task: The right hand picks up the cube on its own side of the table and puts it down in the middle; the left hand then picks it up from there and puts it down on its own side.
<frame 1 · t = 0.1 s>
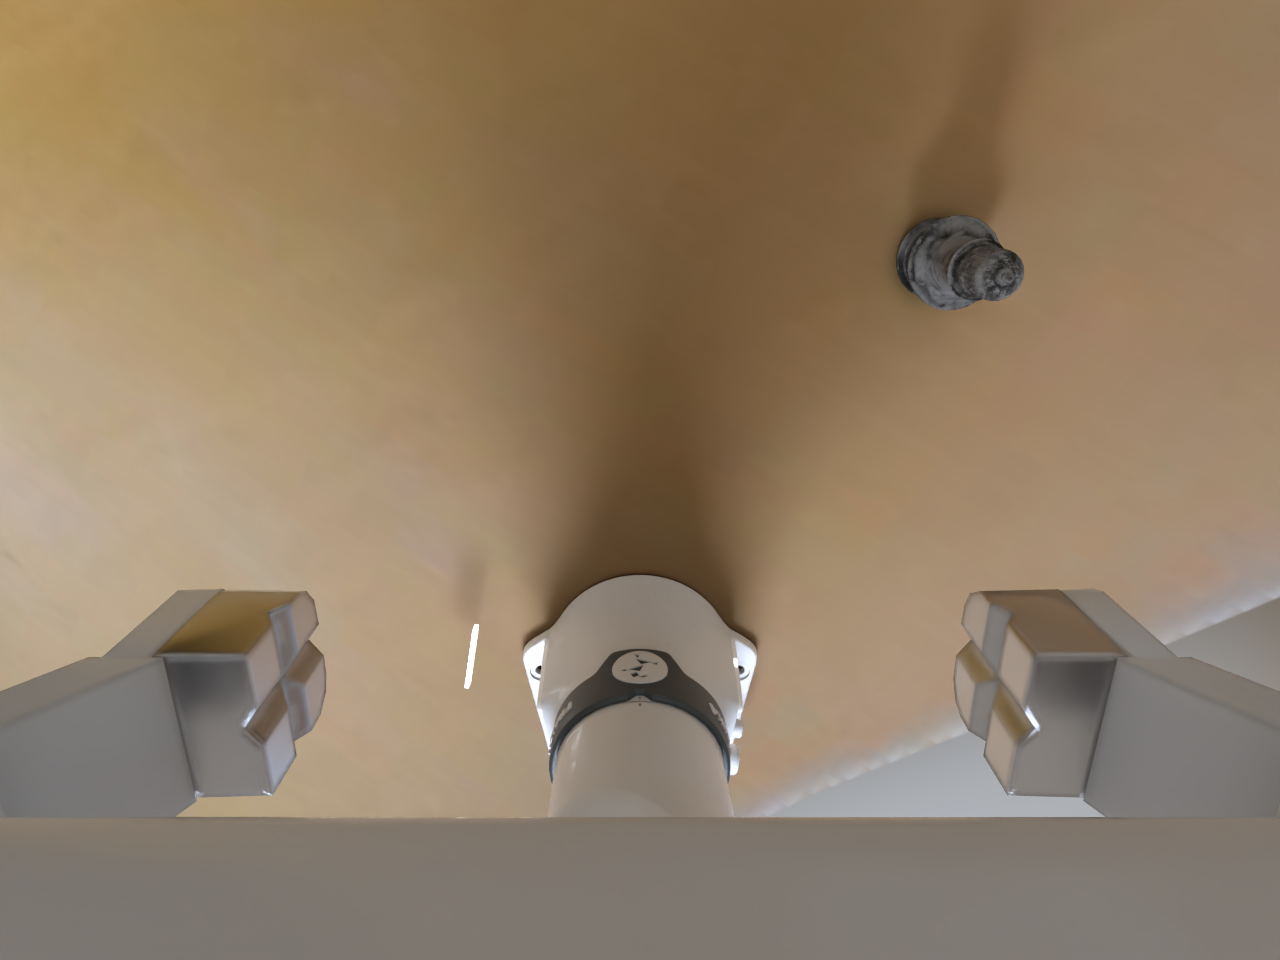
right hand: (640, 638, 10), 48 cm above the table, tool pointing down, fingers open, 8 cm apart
grey chess piece: (934, 258, 55), on the table
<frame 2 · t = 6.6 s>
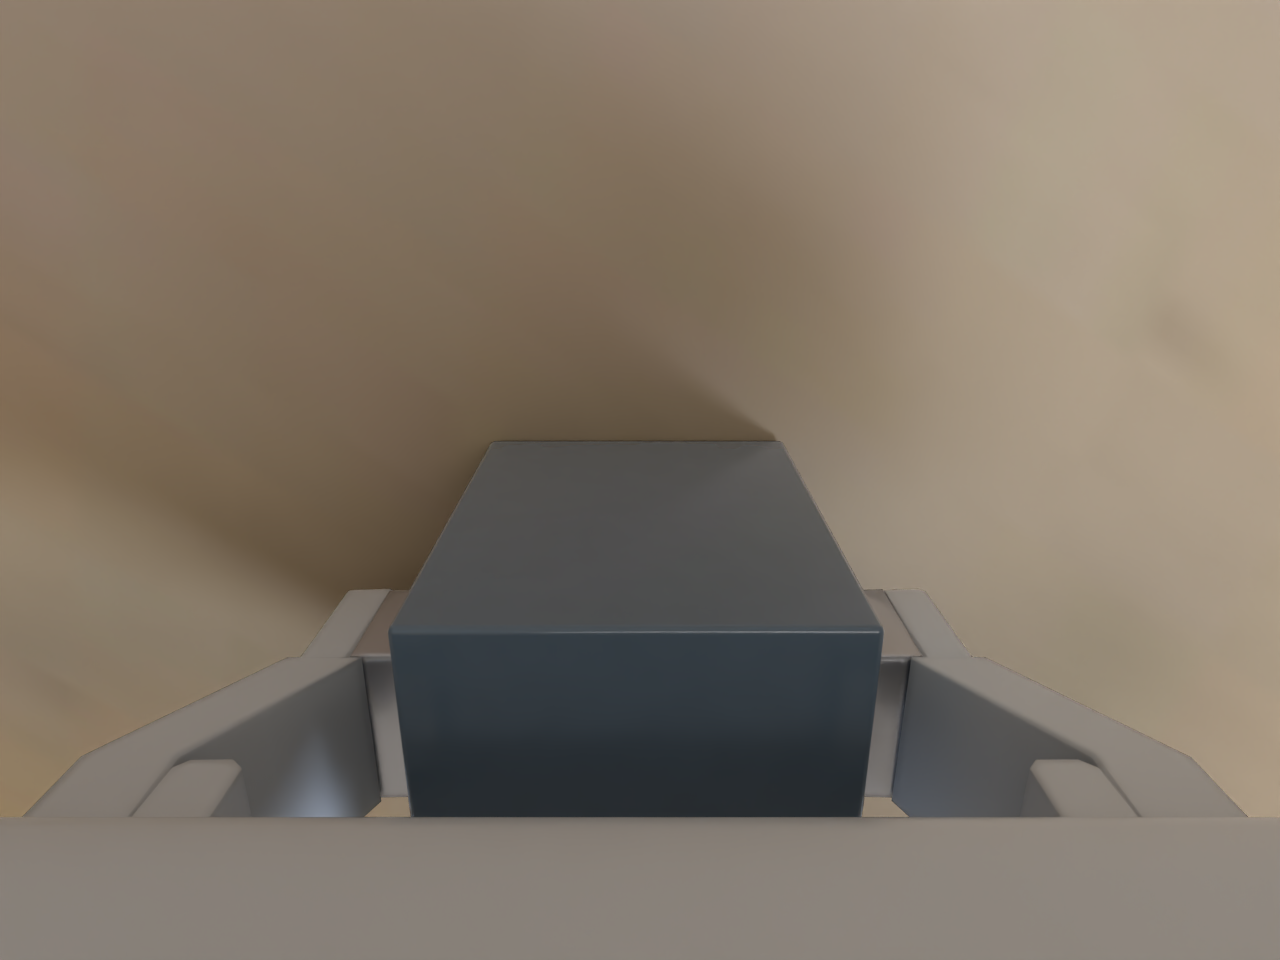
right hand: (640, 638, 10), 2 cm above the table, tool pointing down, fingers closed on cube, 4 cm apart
cube: (637, 574, 12), on the table, touching right hand
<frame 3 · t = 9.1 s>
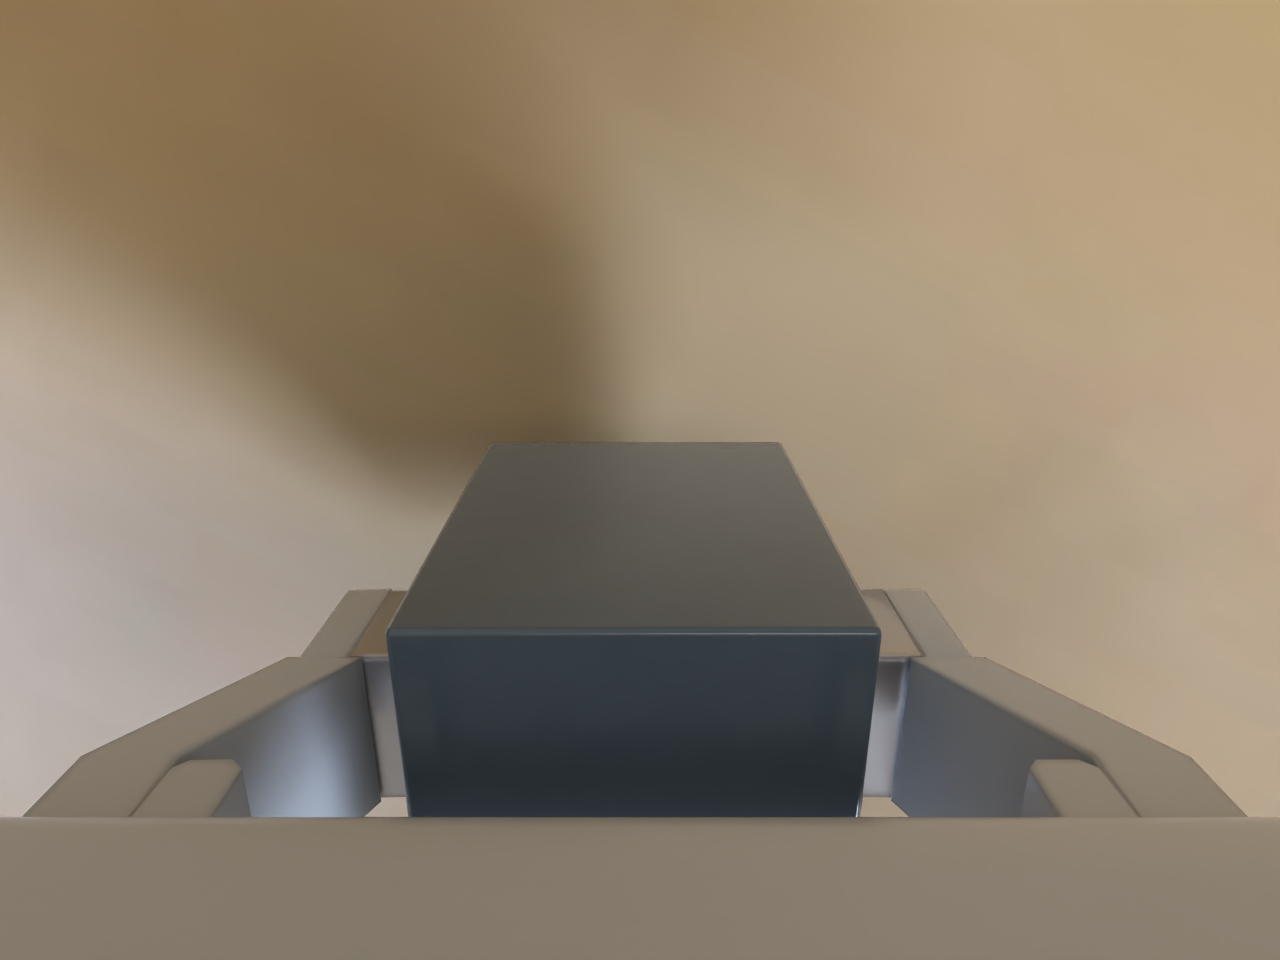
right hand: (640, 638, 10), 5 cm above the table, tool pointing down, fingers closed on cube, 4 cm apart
cube: (635, 575, 12), point 3 cm above the table, touching right hand
when the right hand's fingers open (3 cm above the table, at t = 11.9 s): cube stays where it is, on the table.
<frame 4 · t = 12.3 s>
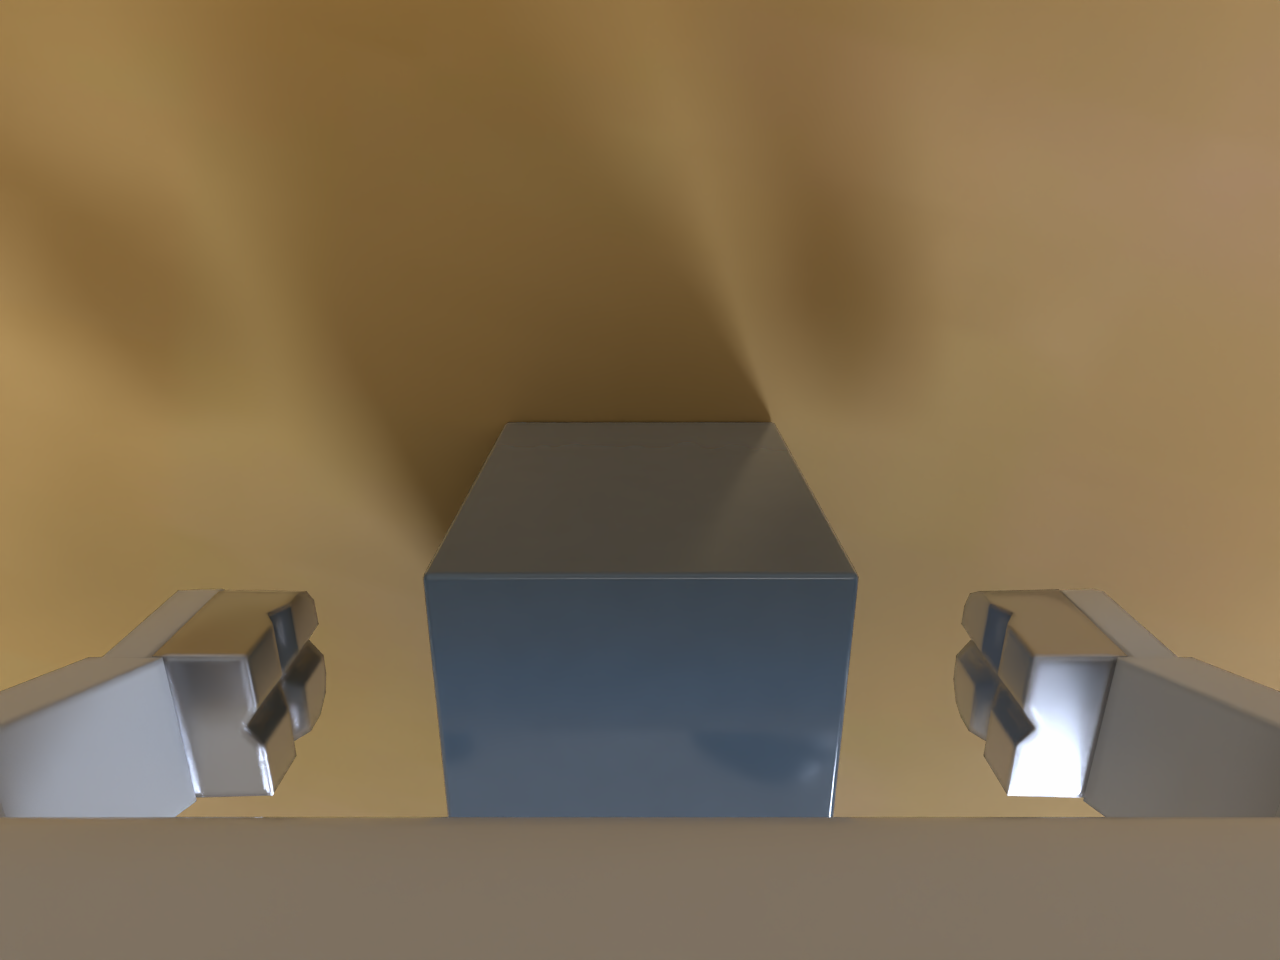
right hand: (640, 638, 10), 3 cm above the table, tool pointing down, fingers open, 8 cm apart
cube: (640, 547, 13), on the table
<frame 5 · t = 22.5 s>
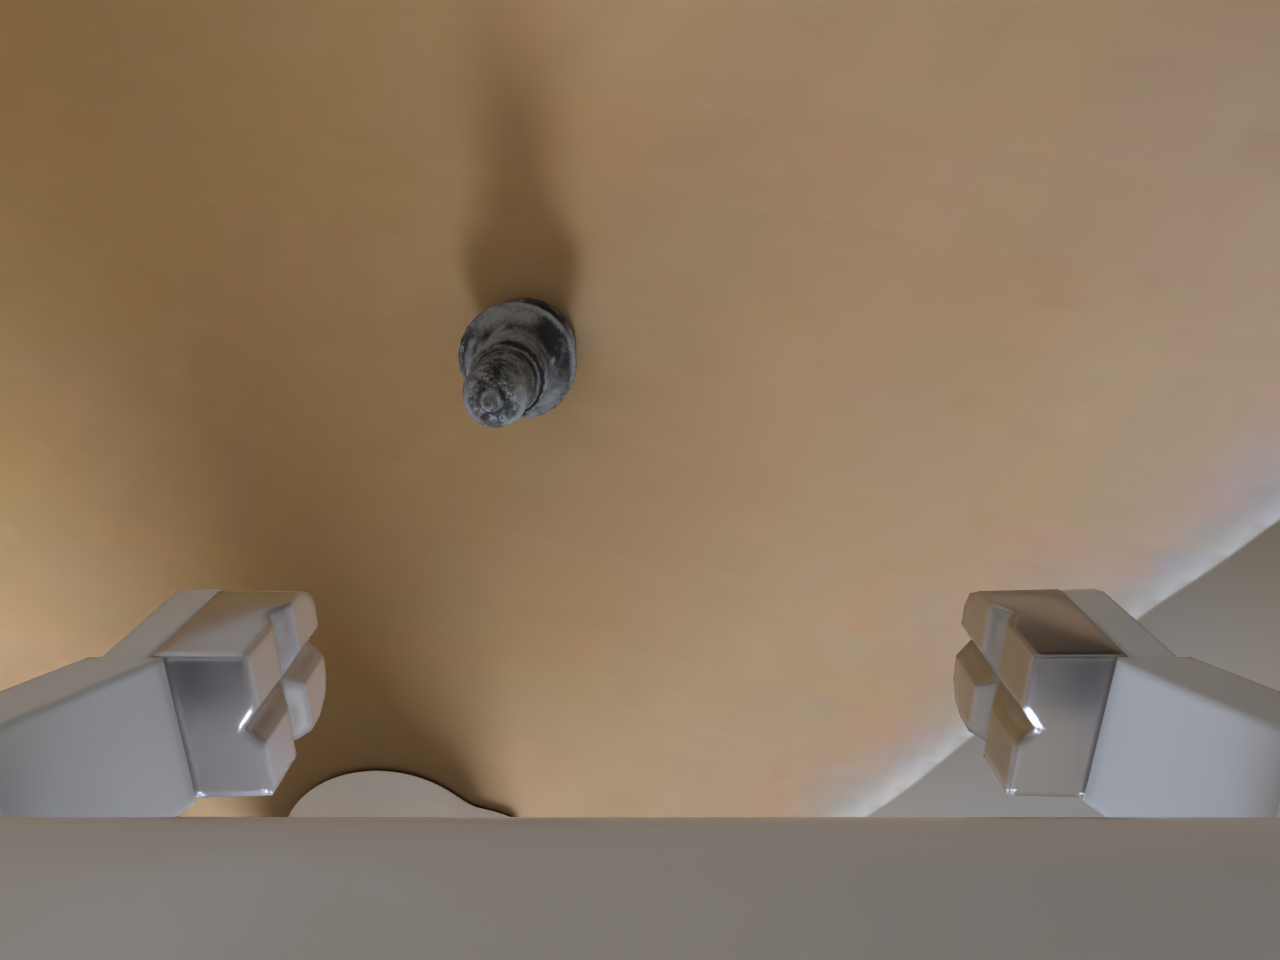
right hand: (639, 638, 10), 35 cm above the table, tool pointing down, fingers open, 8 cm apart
grey chess piece: (527, 347, 44), on the table
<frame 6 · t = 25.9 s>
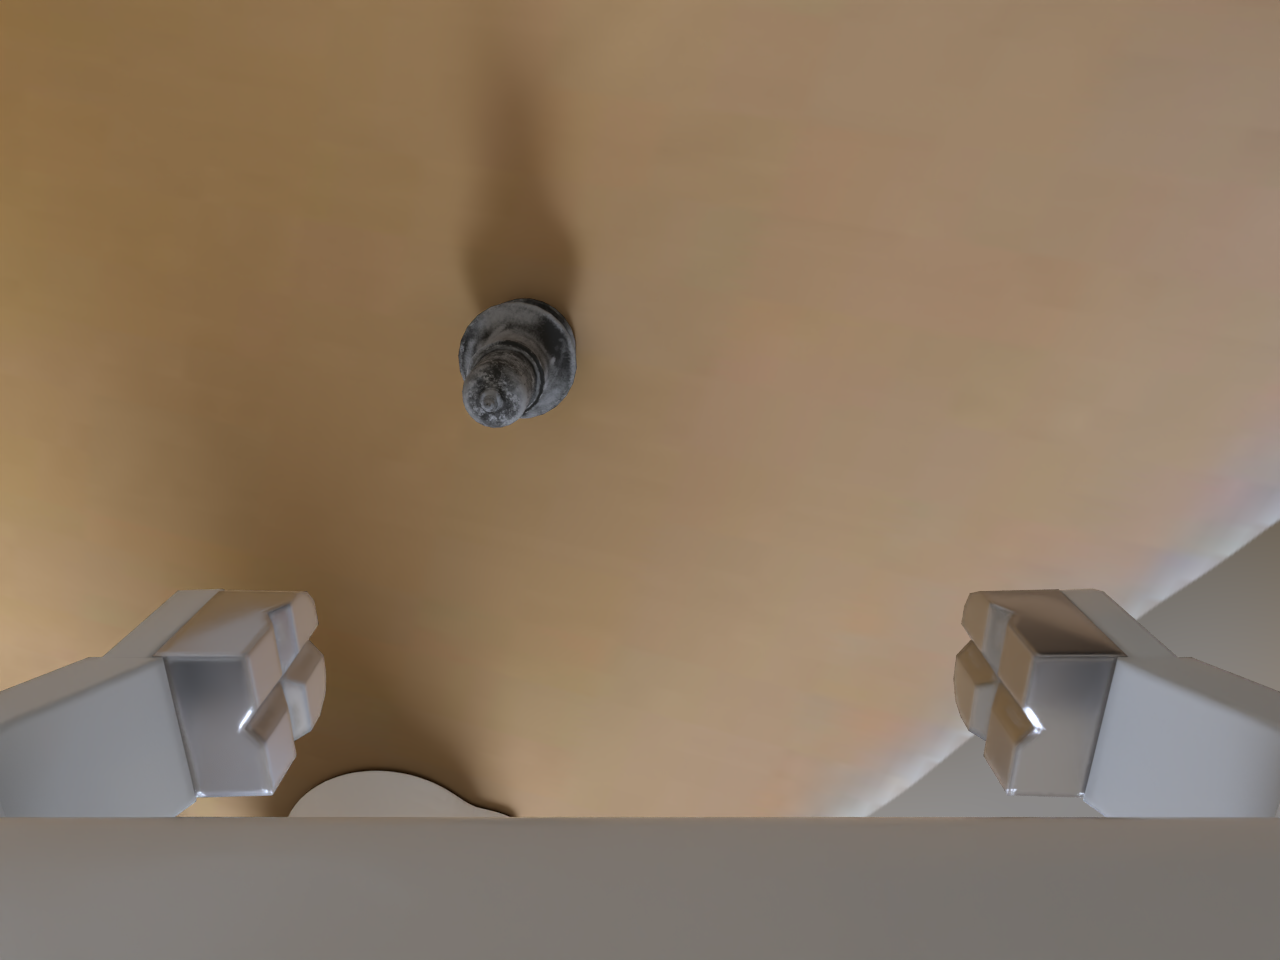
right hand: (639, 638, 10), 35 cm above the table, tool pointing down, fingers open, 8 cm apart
grey chess piece: (527, 347, 44), on the table
when the left hand's fingers open (1 cm above the table, at t = 29.2 s): cube stays where it is, on the table.
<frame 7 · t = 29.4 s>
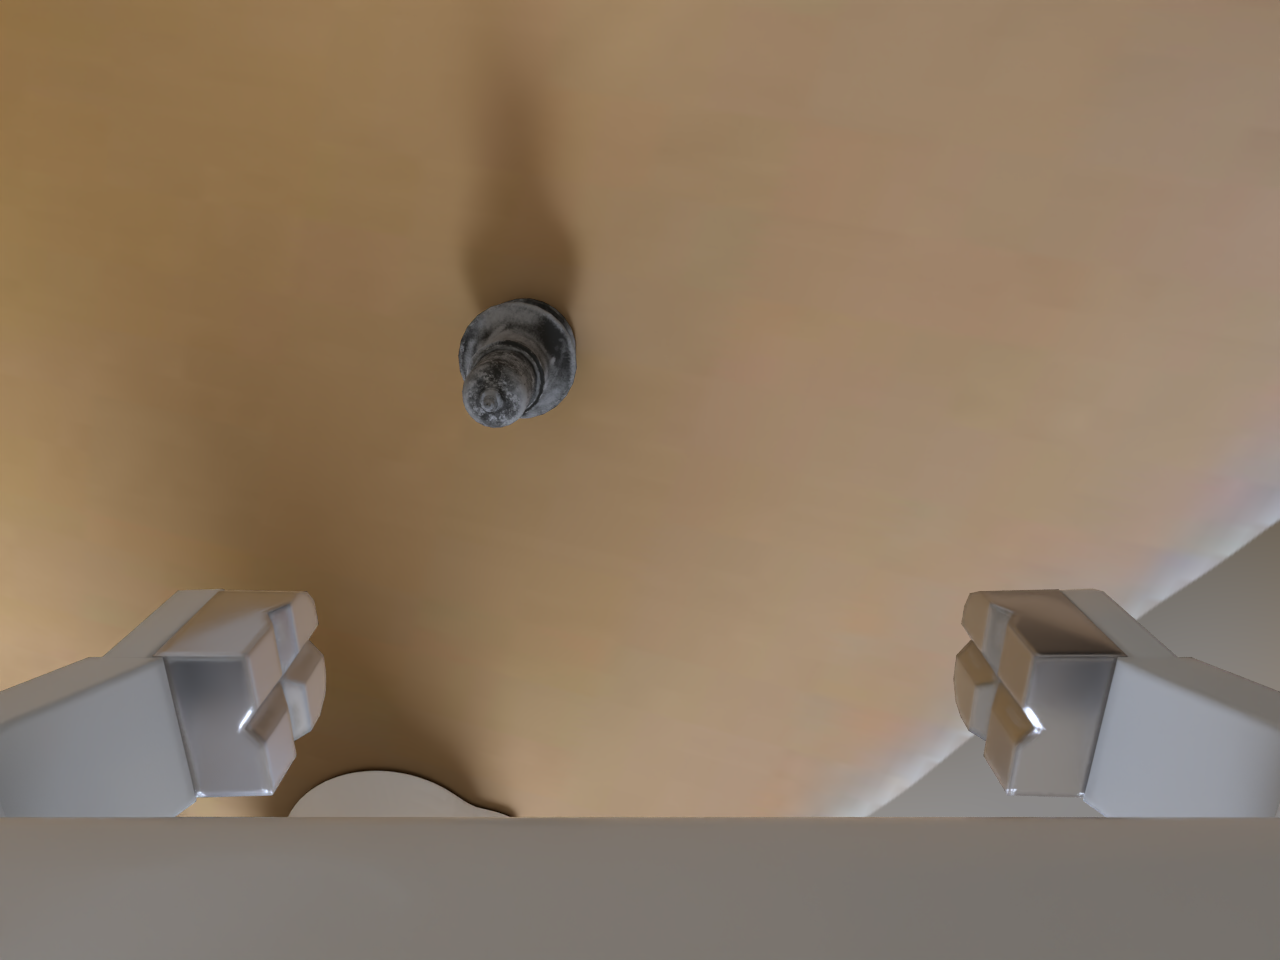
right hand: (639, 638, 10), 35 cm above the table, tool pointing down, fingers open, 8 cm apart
grey chess piece: (527, 347, 44), on the table
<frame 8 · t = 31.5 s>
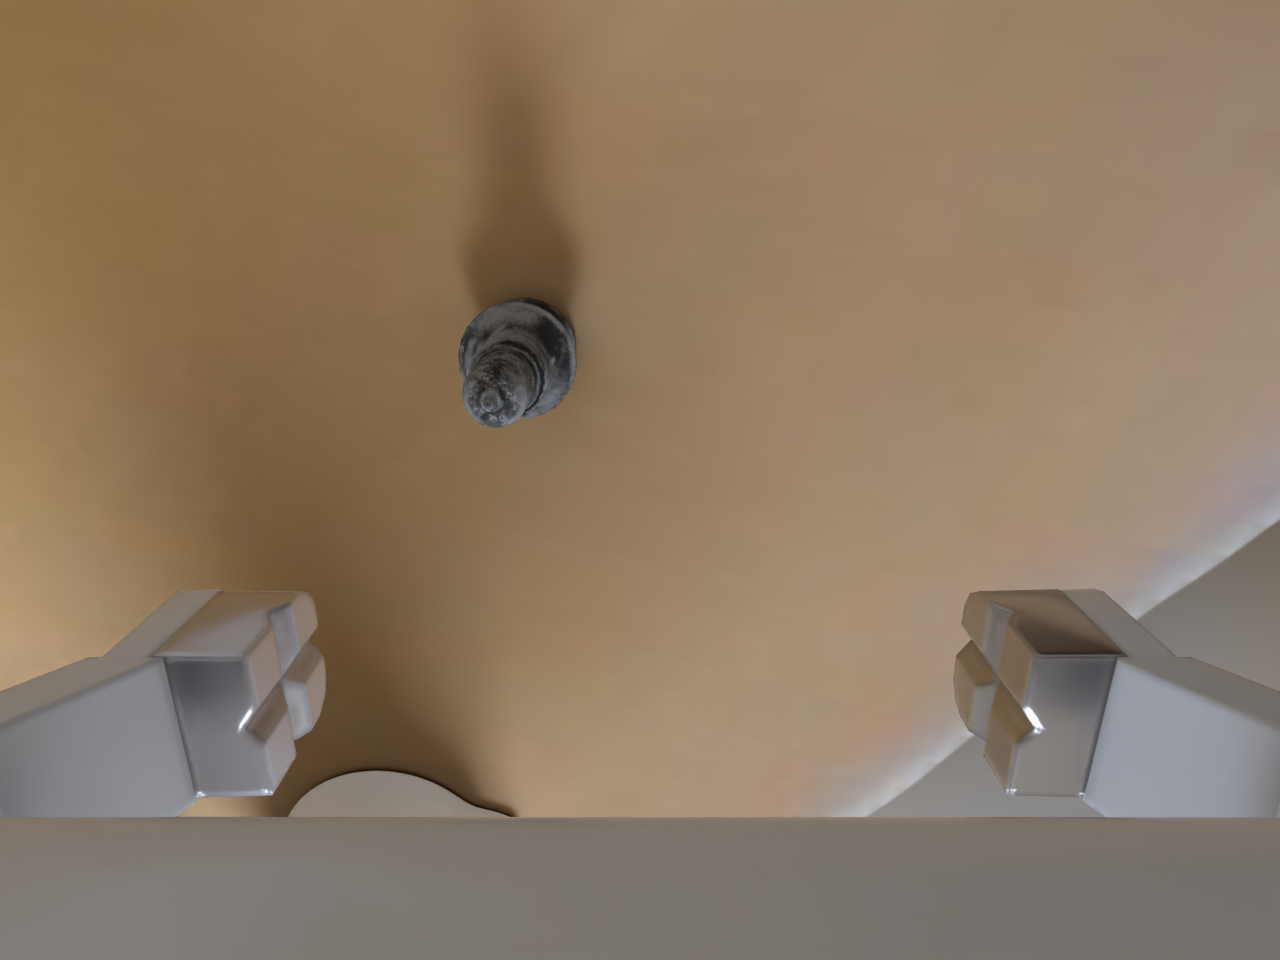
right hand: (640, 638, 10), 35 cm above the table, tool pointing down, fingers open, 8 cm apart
grey chess piece: (527, 347, 44), on the table
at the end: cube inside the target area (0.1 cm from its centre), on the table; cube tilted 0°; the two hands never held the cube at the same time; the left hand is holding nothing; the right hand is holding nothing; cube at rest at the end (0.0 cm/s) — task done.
